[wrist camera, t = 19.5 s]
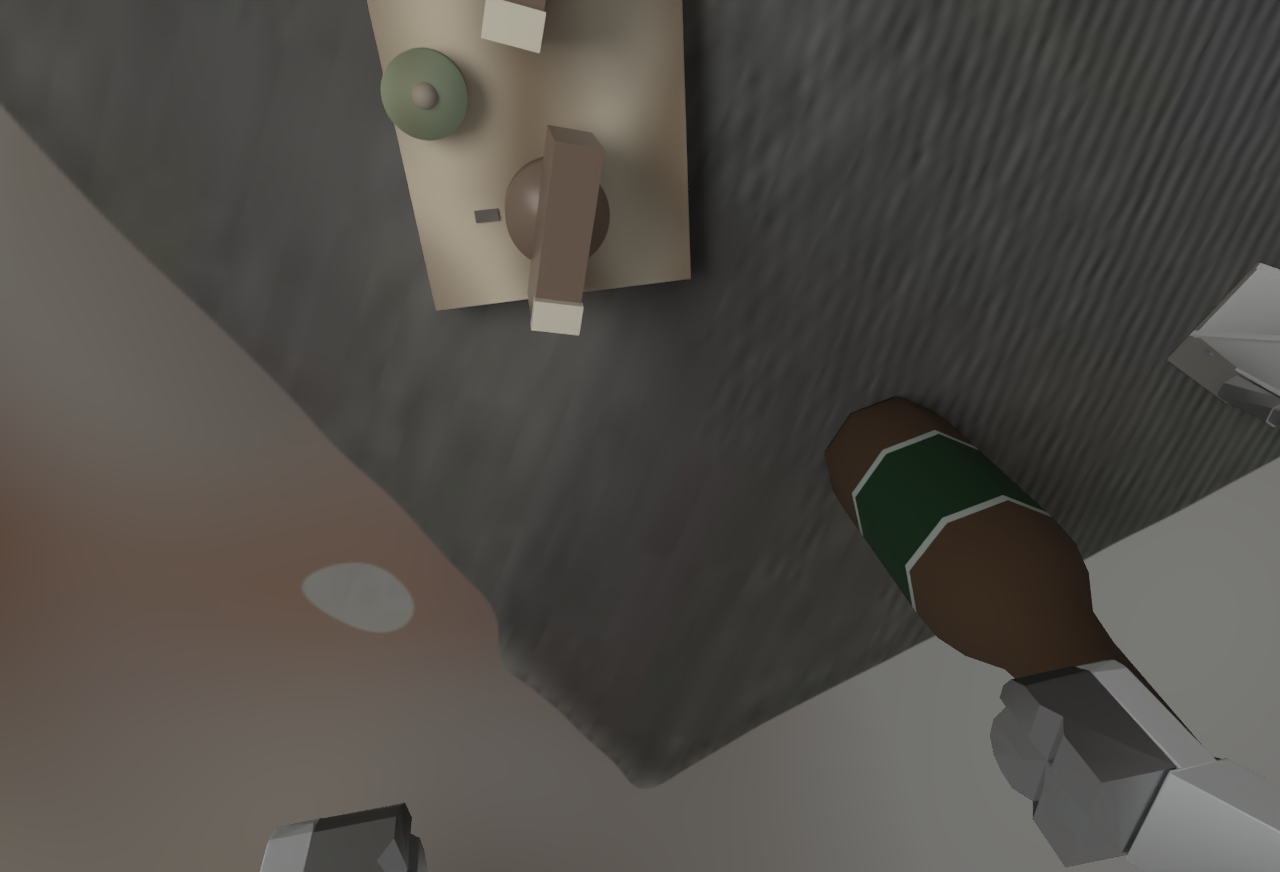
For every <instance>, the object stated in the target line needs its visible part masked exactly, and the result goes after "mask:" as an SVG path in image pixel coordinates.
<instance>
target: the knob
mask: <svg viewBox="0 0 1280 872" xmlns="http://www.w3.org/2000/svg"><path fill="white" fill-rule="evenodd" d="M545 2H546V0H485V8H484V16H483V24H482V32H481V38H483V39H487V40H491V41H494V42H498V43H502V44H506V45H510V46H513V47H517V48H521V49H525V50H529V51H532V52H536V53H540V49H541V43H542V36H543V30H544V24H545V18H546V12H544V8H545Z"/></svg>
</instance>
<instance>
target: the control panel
mask: <svg viewBox="0 0 1280 872" xmlns="http://www.w3.org/2000/svg"><path fill="white" fill-rule="evenodd" d="M367 3H368V7H369V12H370V16H371V21H372V25H373V30H374V34H375V39H376V43H377V48H378V52H379V57H380V61H381V66H382V70H383V77H382V81H381V97H382V102H383V105H384V108H385V110H386V112H387V114H388V116H389V117H390V119H391V120H392V122H393V123H394V124H395V128H396V133H397V137H398V142H399V146H400V151H401V155H402V160H403V164H404V169H405V173H406V178H407V182H408V187H409V191H410V196H411V200H412V205H413V209H414V213H415V218H416V222H417V227H418V231H419V236H420V240H421V245H422V249H423V254H424V258H425V263H426V267H427V272H428V276H429V281H430V285H431V290H432V294H433V299H434V303H435V308H436V311H437V310H445V309H453V308H461V307H469V306H477V305H485V304H493V303H501V302H509V301H517V300H525V299H528V293H527V292H528V283H529V275H530V266H531V260H530V259H529V258H527V257H526V256H525V255H523V254H522V253H521V252H520V251H519V249H518V248H517V247H516V246H515V244H514V243H513V241H512V239H511V237H510V235H509V232H508V229H507V225H506V218H505V197H506V192H507V189H508V186H509V184H510V182H511V180H512V179H513V177H514V175H515V174H516V173H517V172H518V171H519V170H520V169H521V168H522V167H523V166H524V165H526V164H527V163H529V162H531V161H533V160H535V159H537V158H540V157H543V156H544V148H545V139H546V131H547V125H552V126H558V127H564V128H569V129H575V130H580V131H586V132H592V133H593V135H594V136H595V137H596V138H597V140H598V141H599V142H600V144H601V145H602V146H603V147H604V149H605V154H604V160H603V167H602V173H601V179H600V185H601V187H602V189H603V190H604V192H605V195H606V197H607V200H608V203H609V209H610V222H609V228H608V232H607V234H606V237H605V239H604V241H603V243H602V244H601V246H600V247H599V249H598V250H597V251H596V252H595V253H594V254H593V255H592V256H590V257H589V258H588V263H587V269H586V276H585V282H584V289H583V292H589V291H597V290H605V289H613V288H621V287H629V286H637V285H645V284H653V283H661V282H669V281H677V280H685V279H691V269H690V237H689V205H688V172H687V140H686V108H685V75H684V43H683V11H682V0H546V2H545V8H544V12H546V18H545V24H544V30H543V36H542V43H541V49H540V53H536V52H532V51H529V50H525V49H521V48H517V47H513V46H510V45H506V44H502V43H498V42H494V41H491V40H487V39H483V38H481V32H482V24H483V16H484V8H485V0H367Z"/></svg>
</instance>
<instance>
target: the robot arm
mask: <svg viewBox="0 0 1280 872" xmlns="http://www.w3.org/2000/svg"><path fill="white" fill-rule="evenodd" d="M1000 699H1001V700H1002V702H1003V703H1004V704H1005V706H1006V707H1005V708H1004V709H1003V710H1002V711H1001V712H1000V713H999V714H998V715H997V716H996V717H995V718H994V719H993V724H992V728H991V733H990V737H991V743H992V748H993V753H994V756H995V758H996V760H997V763H998V765H999V767H1000V770H1001V771H1002V773H1003V775H1004V776H1005V778H1006V779H1007V781H1008V782H1009V784H1010V785H1011V787H1012V788H1013V789H1015V790H1016V791H1018V792H1019V793H1021V794H1023V795H1024V796H1026V797H1028V798H1029V799H1031V800H1032V801H1033V820H1034V821H1035V823H1036V824H1037V826H1038V827H1039V829H1040V830H1041V832H1042V833H1043V834H1044V836H1045V838H1046V839H1047V841H1048V842H1049V844H1050V845H1051V847H1052V848H1053V849H1054V851H1055V852H1056V854H1057V855H1058V857H1059V858H1060V860H1061V861H1062V863H1063V864H1064V866H1065V867H1069V866H1074V865H1079V864H1084V863H1089V862H1094V861H1098V860H1104V859H1108V858H1113V857H1119V856H1123V855H1127V857H1126V860H1128V861H1129V862H1130V863H1132V864H1133V865H1135V866H1136V867H1137V868H1139V869H1140V870H1141V871H1143V872H1280V785H1279V784H1277V783H1275V782H1273V781H1271V780H1269V779H1267V778H1265V777H1263V776H1261V775H1259V774H1257V773H1255V772H1253V771H1251V770H1249V769H1247V768H1245V767H1243V766H1241V765H1239V764H1237V763H1235V762H1233V761H1231V760H1229V759H1227V758H1225V759H1219V760H1216V759H1215V758H1214V757H1213V756H1212V755H1211V754H1210V753H1209V752H1208V751H1207V750H1206V749H1205V748H1204V747H1203V746H1202V745H1201V744H1200V743H1199V742H1198V741H1197V740H1196V739H1195V738H1194V736H1193V735H1192V734H1191V733H1190V732H1189V731H1188V730H1187V729H1186V728H1185V727H1184V726H1183V725H1182V724H1181V723H1180V722H1179V721H1178V720H1177V719H1176V718H1175V717H1174V716H1173V715H1172V714H1171V713H1170V712H1169V711H1168V710H1167V709H1166V708H1165V707H1164V706H1163V705H1162V703H1161V702H1160V701H1159V700H1158V699H1157V698H1156V697H1155V696H1154V695H1153V694H1152V693H1151V692H1150V691H1149V690H1148V689H1147V688H1146V687H1145V686H1144V685H1143V684H1142V683H1141V682H1140V681H1139V680H1138V679H1137V678H1136V677H1135V676H1134V675H1133V674H1132V673H1131V672H1130V671H1129V669H1128V668H1126V667H1125V666H1124V665H1123V664H1121V663H1119V662H1117V661H1115V660H1102V661H1098V662H1093V663H1089V664H1084V665H1080V666H1070V667H1065V668H1061V669H1056V670H1052V671H1047V672H1043V673H1038V674H1034V675H1029V676H1025V677H1020V678H1015V679H1011V680H1010V681H1008V682H1007V683H1006V684H1005V685H1003V688H1002V692H1001V695H1000ZM411 822H412V817H411V815H410V813H409V810H408V808H407V806H406V804H405V803H400V804H396V805H390V806H385V807H380V808H374V809H370V810H364V811H359V812H354V813H348V814H343V815H338V816H332V817H328V818H319V819H314V820H309V821H305V822H300V823H294V824H290V825H285V826H280V827H277V828H276V830H275V831H274V833H273V835H272V837H271V838H270V840H269V842H268V844H267V847H266V851H265V855H264V859H263V863H262V867H261V870H260V872H427V862H426V857H425V852H424V848H423V846H422V843H421V840H420V838H419V837H416V836H414V835H412V834H411Z"/></svg>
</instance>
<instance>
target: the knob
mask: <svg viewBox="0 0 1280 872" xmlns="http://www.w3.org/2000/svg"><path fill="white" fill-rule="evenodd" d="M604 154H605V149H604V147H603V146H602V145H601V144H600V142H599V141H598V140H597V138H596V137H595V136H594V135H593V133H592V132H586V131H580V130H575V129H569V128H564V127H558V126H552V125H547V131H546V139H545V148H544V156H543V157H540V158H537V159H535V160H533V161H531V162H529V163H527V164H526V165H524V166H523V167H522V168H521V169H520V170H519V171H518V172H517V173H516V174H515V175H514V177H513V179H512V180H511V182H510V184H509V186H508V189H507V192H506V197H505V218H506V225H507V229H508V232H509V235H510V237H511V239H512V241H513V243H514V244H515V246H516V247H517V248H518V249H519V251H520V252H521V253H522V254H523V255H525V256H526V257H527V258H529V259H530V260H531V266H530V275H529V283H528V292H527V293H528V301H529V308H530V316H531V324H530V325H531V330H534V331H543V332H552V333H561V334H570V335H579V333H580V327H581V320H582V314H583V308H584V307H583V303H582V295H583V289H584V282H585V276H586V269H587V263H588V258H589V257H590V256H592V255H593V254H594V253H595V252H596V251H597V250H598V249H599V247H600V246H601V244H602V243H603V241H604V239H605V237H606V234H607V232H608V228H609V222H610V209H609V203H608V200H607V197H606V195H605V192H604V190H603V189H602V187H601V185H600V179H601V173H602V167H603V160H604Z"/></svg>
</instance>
